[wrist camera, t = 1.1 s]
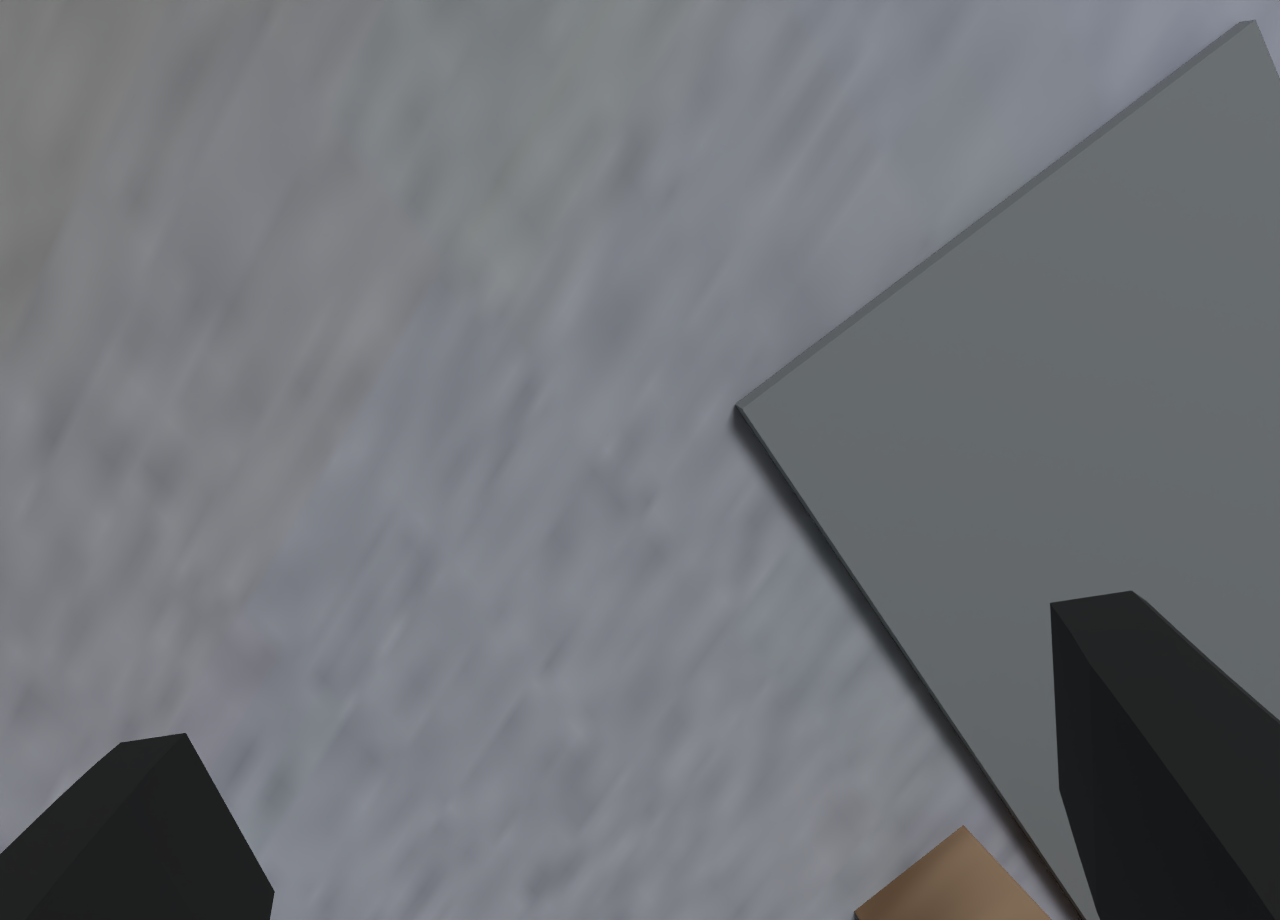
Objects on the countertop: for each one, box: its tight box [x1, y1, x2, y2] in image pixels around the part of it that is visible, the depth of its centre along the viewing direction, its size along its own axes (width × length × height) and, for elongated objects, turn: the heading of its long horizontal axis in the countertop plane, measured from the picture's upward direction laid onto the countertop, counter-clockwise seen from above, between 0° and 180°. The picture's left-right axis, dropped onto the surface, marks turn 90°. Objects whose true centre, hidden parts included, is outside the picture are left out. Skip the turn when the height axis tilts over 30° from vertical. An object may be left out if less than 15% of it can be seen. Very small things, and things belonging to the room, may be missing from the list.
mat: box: [735, 20, 1280, 920], centre depth 25 cm, size 12×18×1 cm, turn 35°
